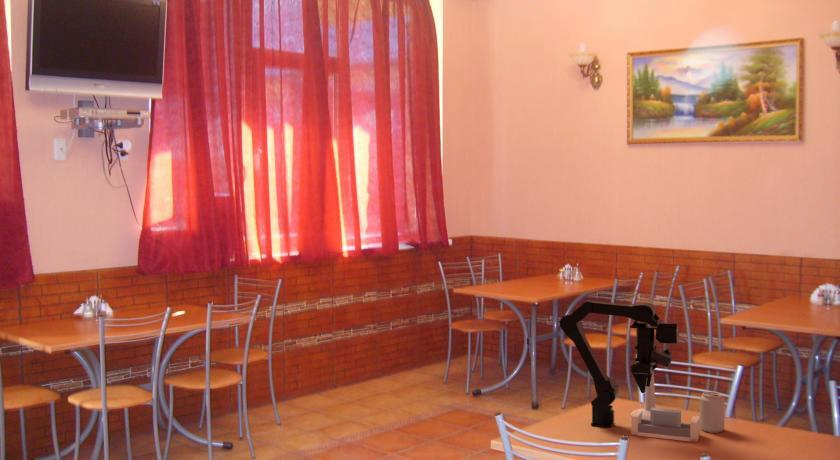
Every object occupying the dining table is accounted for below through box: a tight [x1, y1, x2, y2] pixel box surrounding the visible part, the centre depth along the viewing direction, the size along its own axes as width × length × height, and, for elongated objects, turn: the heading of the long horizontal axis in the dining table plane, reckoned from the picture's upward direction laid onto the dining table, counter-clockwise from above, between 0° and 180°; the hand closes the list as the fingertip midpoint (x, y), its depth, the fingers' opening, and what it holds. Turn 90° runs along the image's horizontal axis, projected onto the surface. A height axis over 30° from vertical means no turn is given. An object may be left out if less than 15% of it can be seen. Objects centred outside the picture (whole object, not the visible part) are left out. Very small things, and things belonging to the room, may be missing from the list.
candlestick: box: [630, 369, 657, 420], centre depth 284 cm, size 13×13×30 cm
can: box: [699, 391, 726, 434], centre depth 269 cm, size 8×8×12 cm
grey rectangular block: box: [650, 407, 682, 428], centre depth 264 cm, size 9×3×7 cm, turn 65°
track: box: [630, 409, 701, 443], centre depth 264 cm, size 20×8×6 cm, turn 65°
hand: (645, 389), depth 270 cm, fingers open, 9 cm apart
